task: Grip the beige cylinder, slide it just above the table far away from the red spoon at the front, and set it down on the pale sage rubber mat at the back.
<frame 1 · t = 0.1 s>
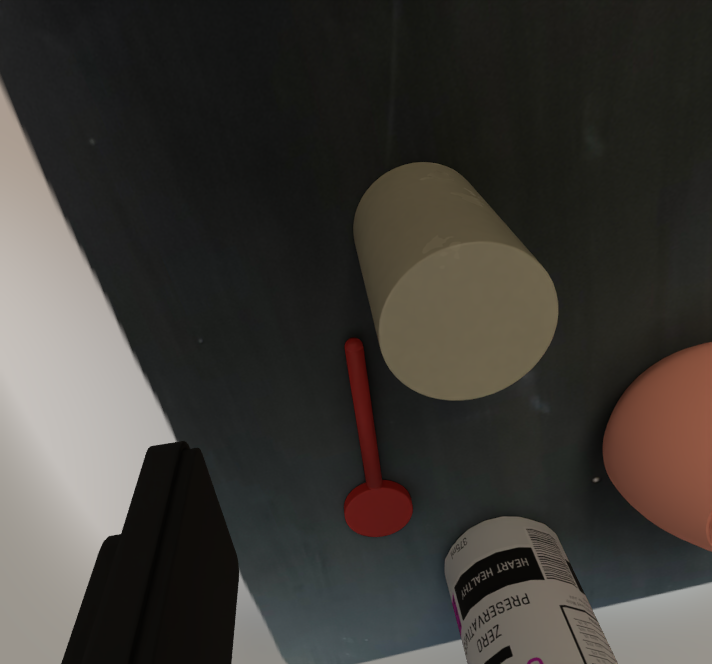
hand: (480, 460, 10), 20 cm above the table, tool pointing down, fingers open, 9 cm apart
beige cylinder: (417, 227, 30), on the table
supplement can: (498, 548, 43), on the table
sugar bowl: (686, 412, 38), on the table
spoon: (367, 439, 36), on the table
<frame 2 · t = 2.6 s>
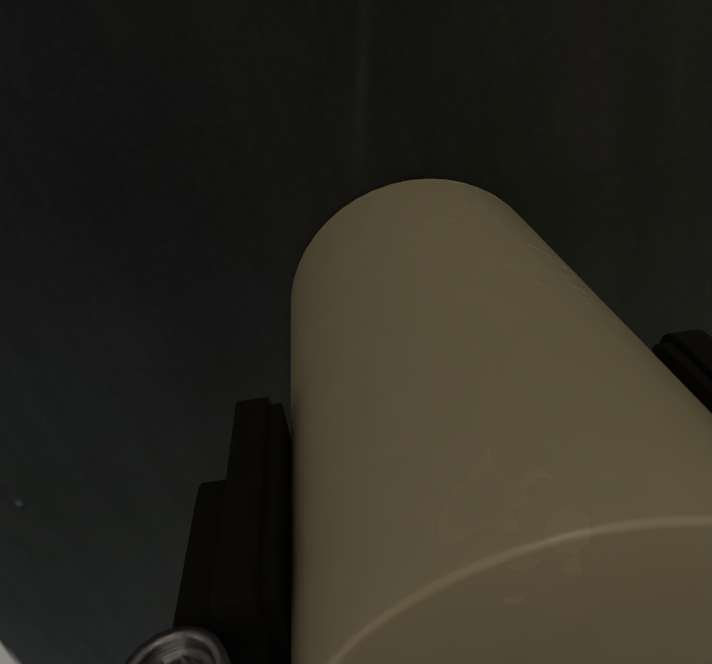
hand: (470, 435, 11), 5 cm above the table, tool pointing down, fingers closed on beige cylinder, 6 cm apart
beige cylinder: (418, 304, 15), on the table, touching gripper
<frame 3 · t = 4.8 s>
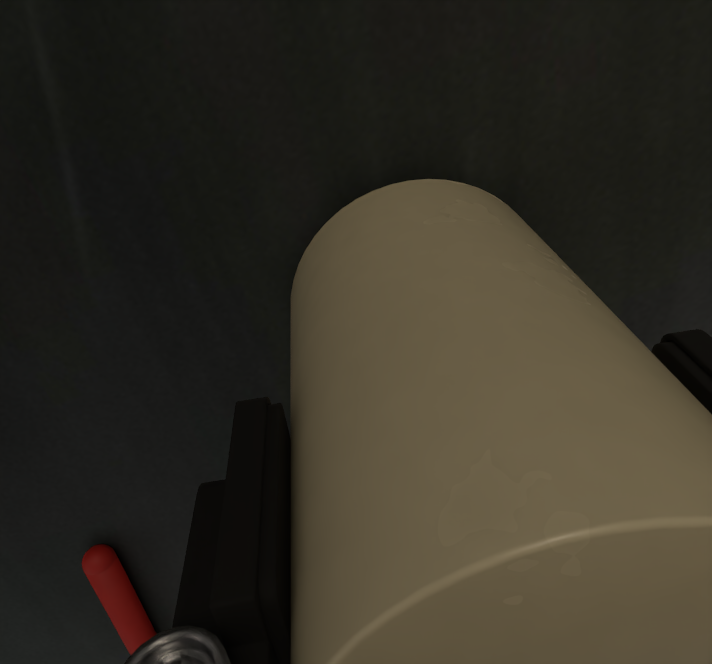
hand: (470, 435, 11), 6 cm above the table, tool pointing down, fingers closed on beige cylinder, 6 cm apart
beige cylinder: (418, 304, 15), point 1 cm above the table, touching gripper
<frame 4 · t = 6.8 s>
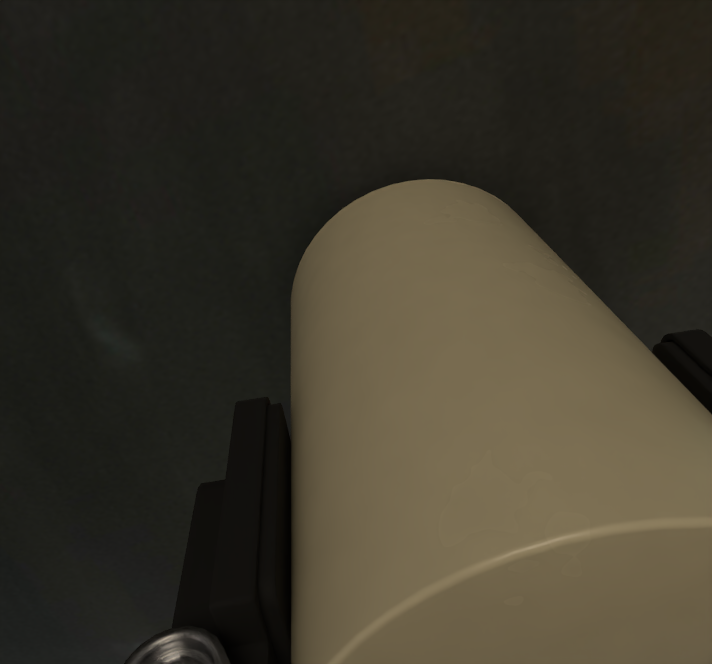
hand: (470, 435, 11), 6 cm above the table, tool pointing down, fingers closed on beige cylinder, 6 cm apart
beige cylinder: (418, 304, 15), point 1 cm above the table, touching gripper
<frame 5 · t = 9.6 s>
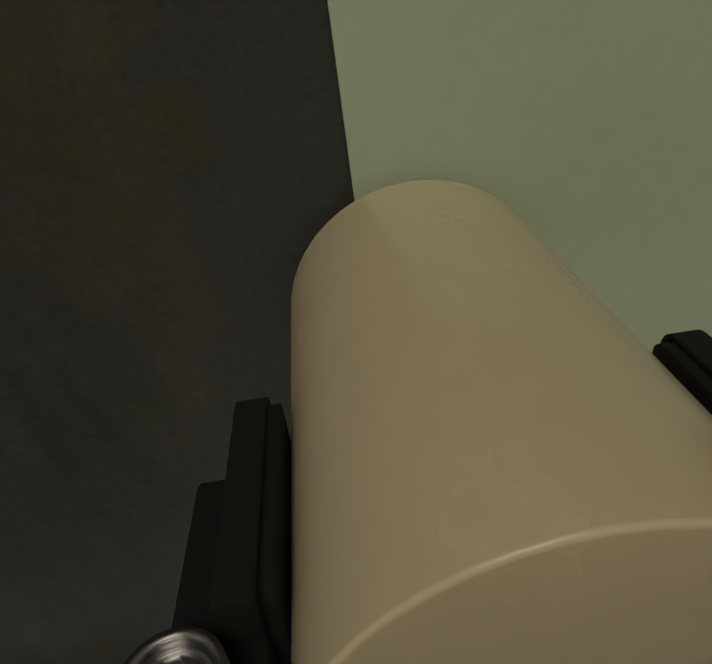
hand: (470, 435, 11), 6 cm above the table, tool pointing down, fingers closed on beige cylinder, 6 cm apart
beige cylinder: (418, 304, 15), point 1 cm above the table, touching gripper
mat: (636, 227, 15), on the table
when the fingers open (5 cm above the table, at t = 11.4 s): beige cylinder stays where it is, resting on mat.
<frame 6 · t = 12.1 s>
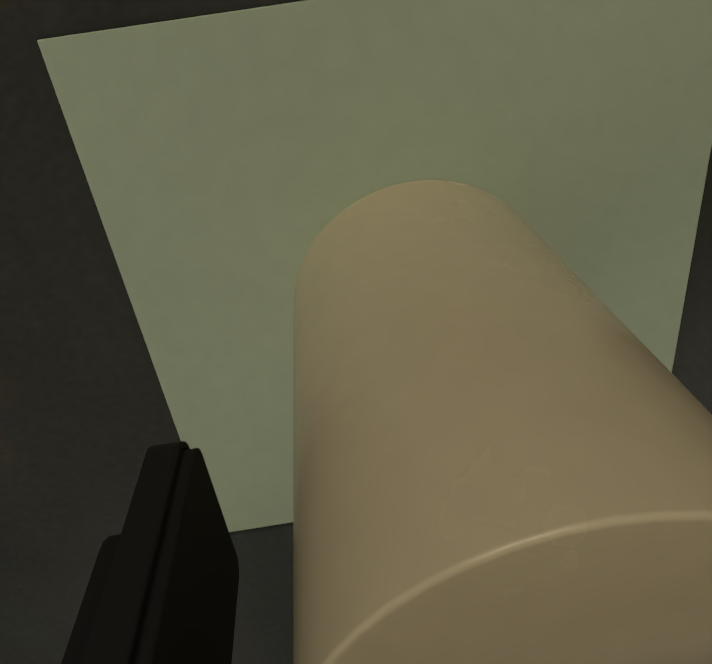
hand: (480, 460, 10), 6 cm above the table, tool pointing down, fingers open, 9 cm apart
beige cylinder: (419, 304, 15), resting on mat
mat: (419, 299, 15), on the table
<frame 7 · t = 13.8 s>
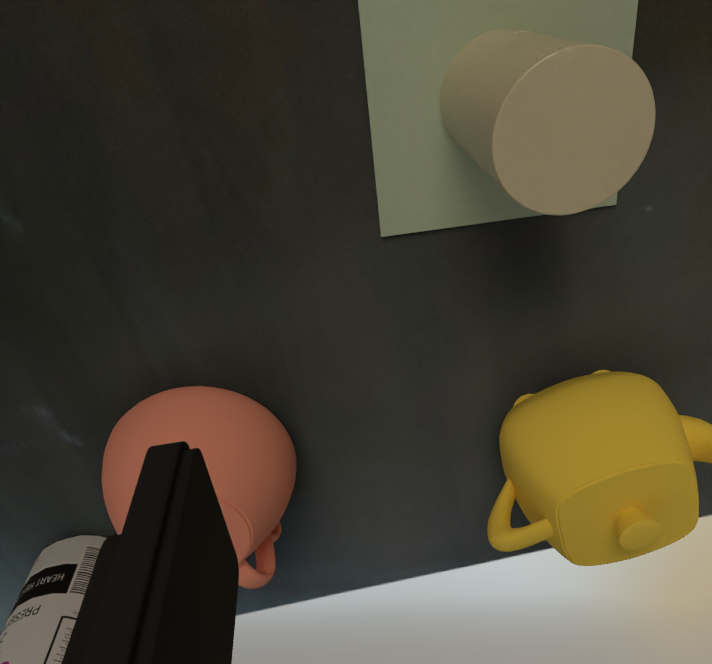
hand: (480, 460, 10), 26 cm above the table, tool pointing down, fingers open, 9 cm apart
beige cylinder: (499, 95, 32), resting on mat
supplement can: (94, 564, 47), on the table
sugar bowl: (216, 445, 42), on the table
teapot: (577, 416, 44), on the table
mat: (498, 94, 32), on the table
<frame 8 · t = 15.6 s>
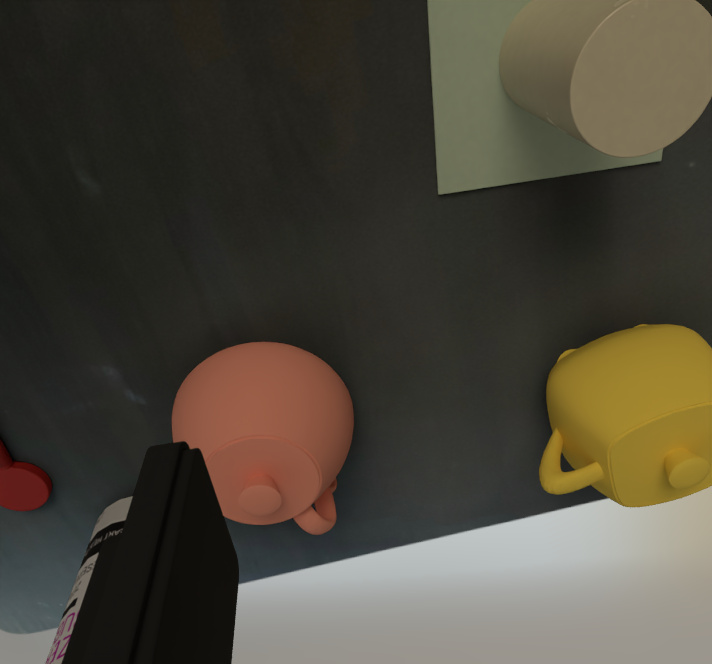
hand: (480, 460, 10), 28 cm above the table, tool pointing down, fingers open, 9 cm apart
beige cylinder: (555, 55, 34), resting on mat
supplement can: (152, 523, 49), on the table
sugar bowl: (273, 403, 44), on the table
teapot: (617, 371, 46), on the table
mat: (554, 54, 34), on the table
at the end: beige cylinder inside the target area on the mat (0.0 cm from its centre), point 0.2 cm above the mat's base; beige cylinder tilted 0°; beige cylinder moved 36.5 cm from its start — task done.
